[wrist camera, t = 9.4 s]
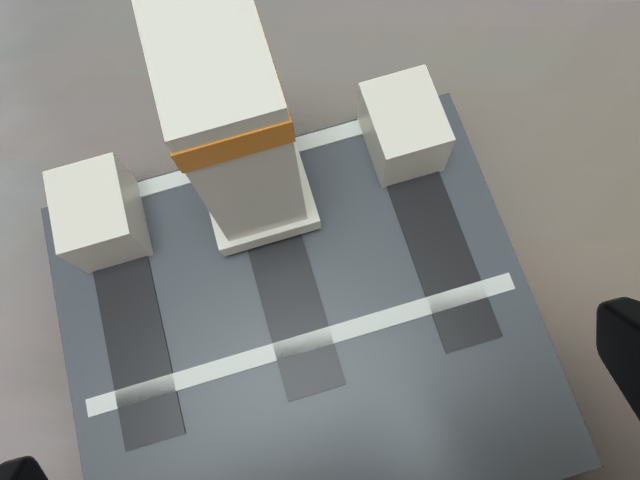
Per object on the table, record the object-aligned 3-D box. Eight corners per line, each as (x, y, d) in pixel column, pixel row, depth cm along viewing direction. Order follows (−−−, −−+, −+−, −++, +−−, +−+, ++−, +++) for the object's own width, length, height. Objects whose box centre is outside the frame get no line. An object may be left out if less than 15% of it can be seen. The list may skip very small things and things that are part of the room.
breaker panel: (584, 463, 20) (640, 472, 16) (124, 609, 19) (70, 655, 16) (440, 106, 24) (458, 46, 20) (58, 214, 24) (2, 174, 20)
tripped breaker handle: (321, 228, 21) (306, 110, 13) (223, 256, 21) (149, 154, 13) (288, 122, 22) (257, -43, 14) (196, 148, 22) (113, -5, 14)
